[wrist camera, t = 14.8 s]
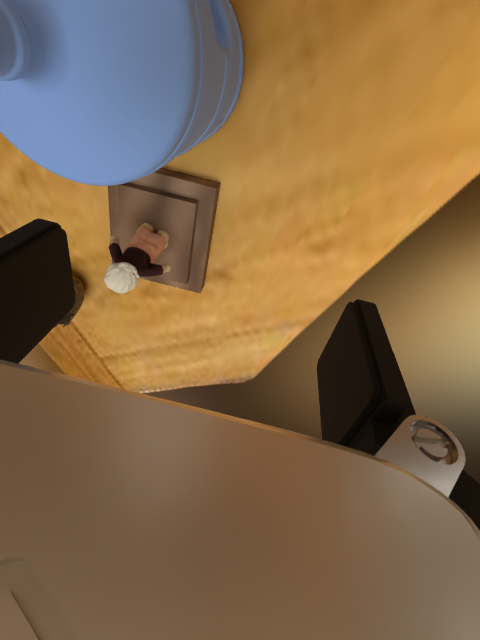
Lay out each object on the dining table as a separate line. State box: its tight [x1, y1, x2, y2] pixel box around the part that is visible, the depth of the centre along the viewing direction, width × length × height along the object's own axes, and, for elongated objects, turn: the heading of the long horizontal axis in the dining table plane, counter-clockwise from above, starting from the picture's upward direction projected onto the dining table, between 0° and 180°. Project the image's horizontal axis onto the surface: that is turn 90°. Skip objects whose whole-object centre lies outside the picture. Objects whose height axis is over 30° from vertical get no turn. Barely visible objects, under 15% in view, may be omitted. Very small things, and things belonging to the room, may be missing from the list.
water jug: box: [0, 0, 244, 186], centre depth 23 cm, size 16×16×28 cm
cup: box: [54, 275, 84, 327], centre depth 51 cm, size 8×7×8 cm
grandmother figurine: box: [104, 223, 171, 293], centre depth 38 cm, size 8×4×13 cm, turn 74°
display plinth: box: [108, 168, 220, 293], centre depth 44 cm, size 14×16×4 cm
